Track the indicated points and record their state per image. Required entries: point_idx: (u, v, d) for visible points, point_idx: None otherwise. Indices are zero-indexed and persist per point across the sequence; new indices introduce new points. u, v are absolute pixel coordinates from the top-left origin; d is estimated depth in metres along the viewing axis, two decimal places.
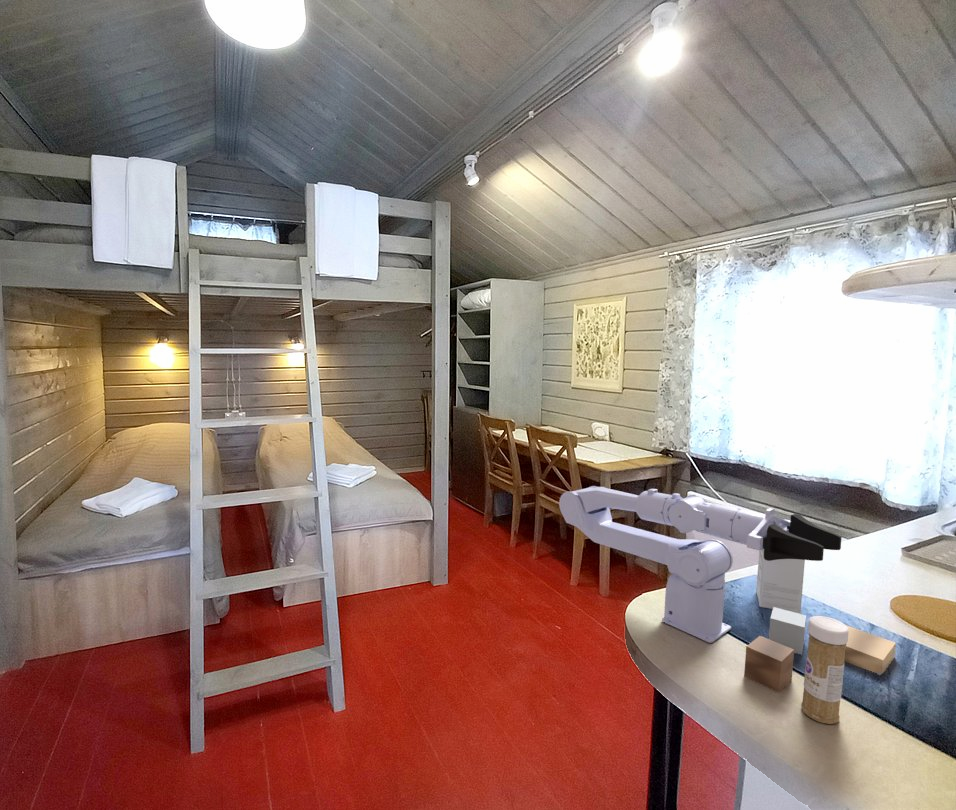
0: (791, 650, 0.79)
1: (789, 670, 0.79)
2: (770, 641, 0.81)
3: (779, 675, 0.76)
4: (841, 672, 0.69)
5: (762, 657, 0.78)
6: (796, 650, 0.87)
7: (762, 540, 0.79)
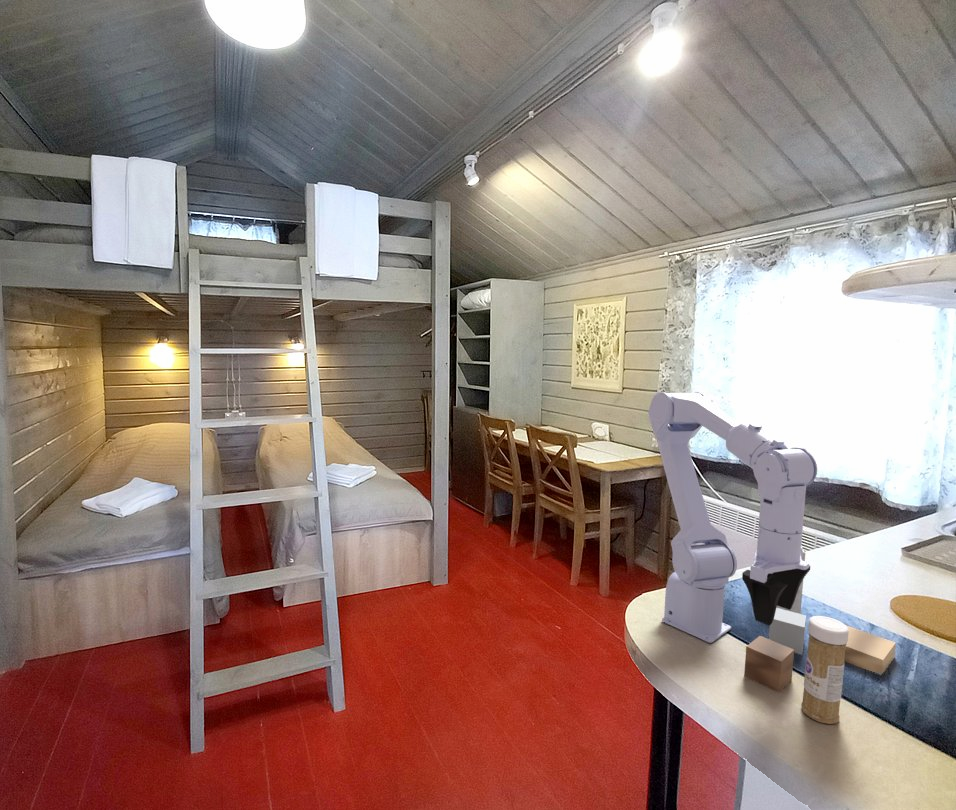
0: (791, 650, 0.79)
1: (789, 670, 0.79)
2: (770, 641, 0.81)
3: (779, 675, 0.76)
4: (841, 672, 0.69)
5: (762, 657, 0.78)
6: (796, 650, 0.87)
7: None
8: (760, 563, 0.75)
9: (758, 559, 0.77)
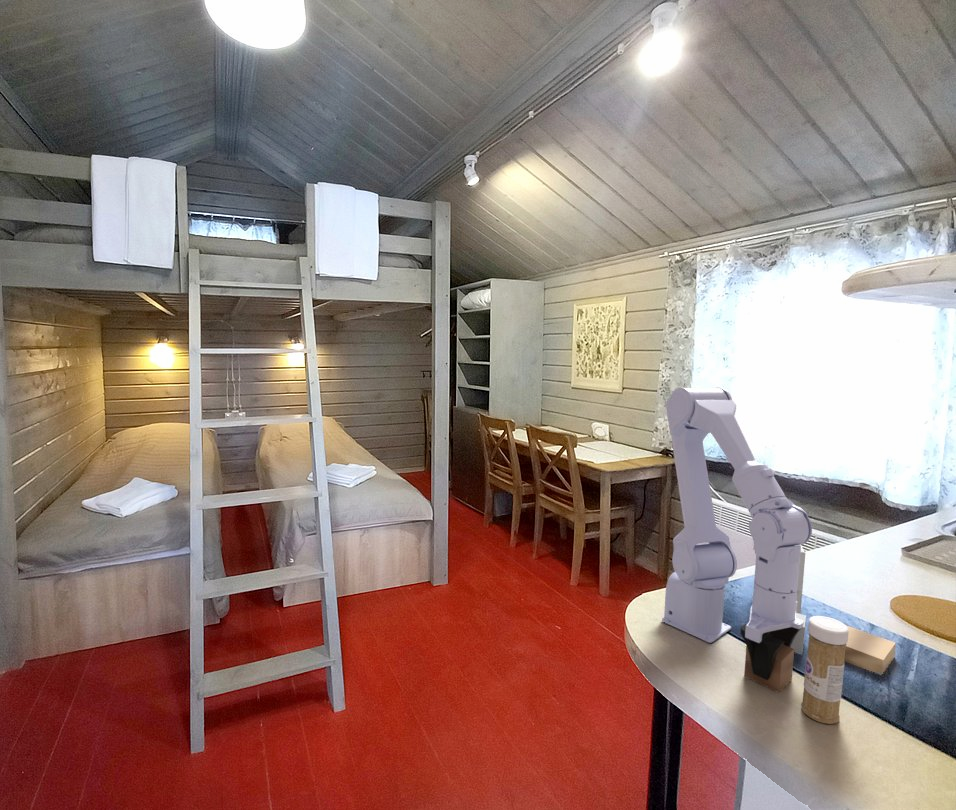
0: (791, 649, 0.79)
1: (789, 669, 0.79)
2: None
3: (779, 674, 0.76)
4: (841, 672, 0.69)
5: None
6: (796, 650, 0.87)
7: None
8: (755, 621, 0.76)
9: (753, 616, 0.78)
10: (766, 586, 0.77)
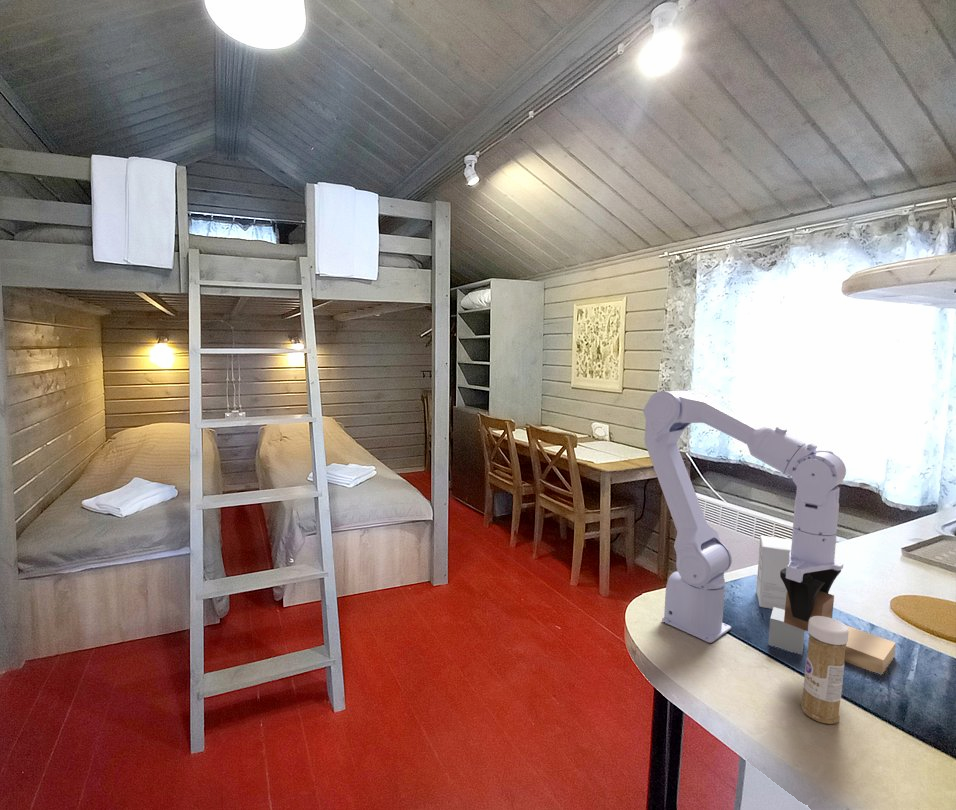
0: (831, 596, 0.80)
1: (829, 615, 0.80)
2: None
3: None
4: (841, 672, 0.69)
5: None
6: (796, 650, 0.87)
7: None
8: (795, 563, 0.78)
9: (793, 559, 0.80)
10: (816, 531, 0.77)
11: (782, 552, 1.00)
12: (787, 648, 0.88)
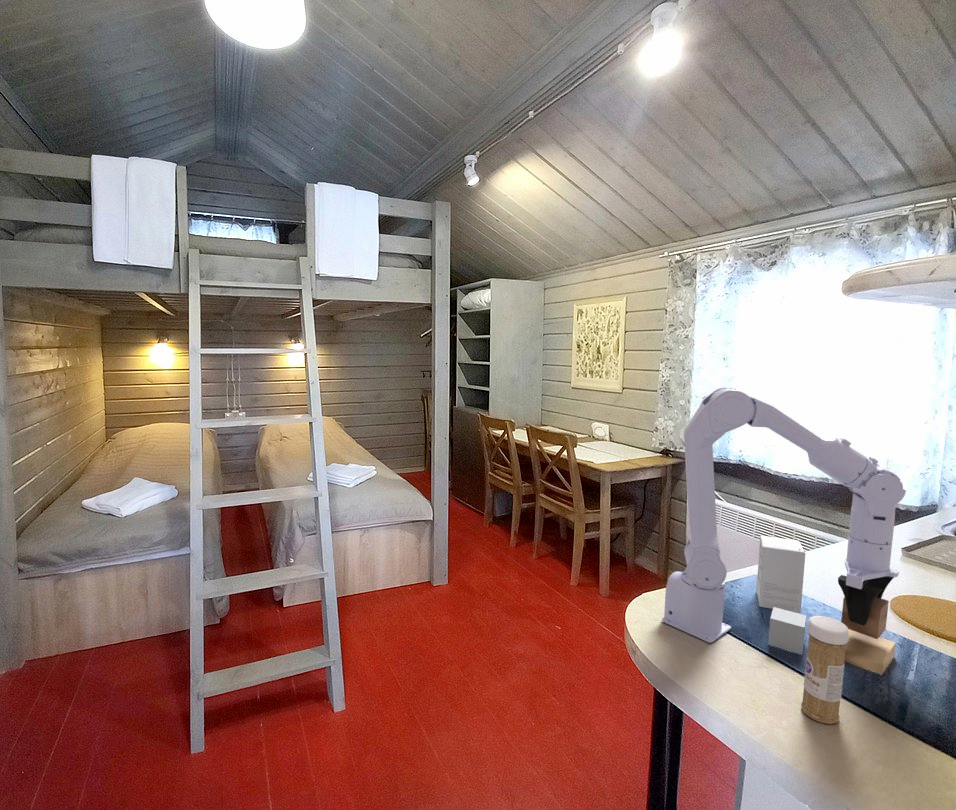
0: (886, 601, 0.85)
1: (884, 619, 0.85)
2: None
3: (878, 622, 0.82)
4: (841, 672, 0.69)
5: None
6: (796, 650, 0.87)
7: None
8: (854, 571, 0.83)
9: (850, 567, 0.85)
10: (884, 541, 0.82)
11: (782, 553, 1.00)
12: (787, 648, 0.88)
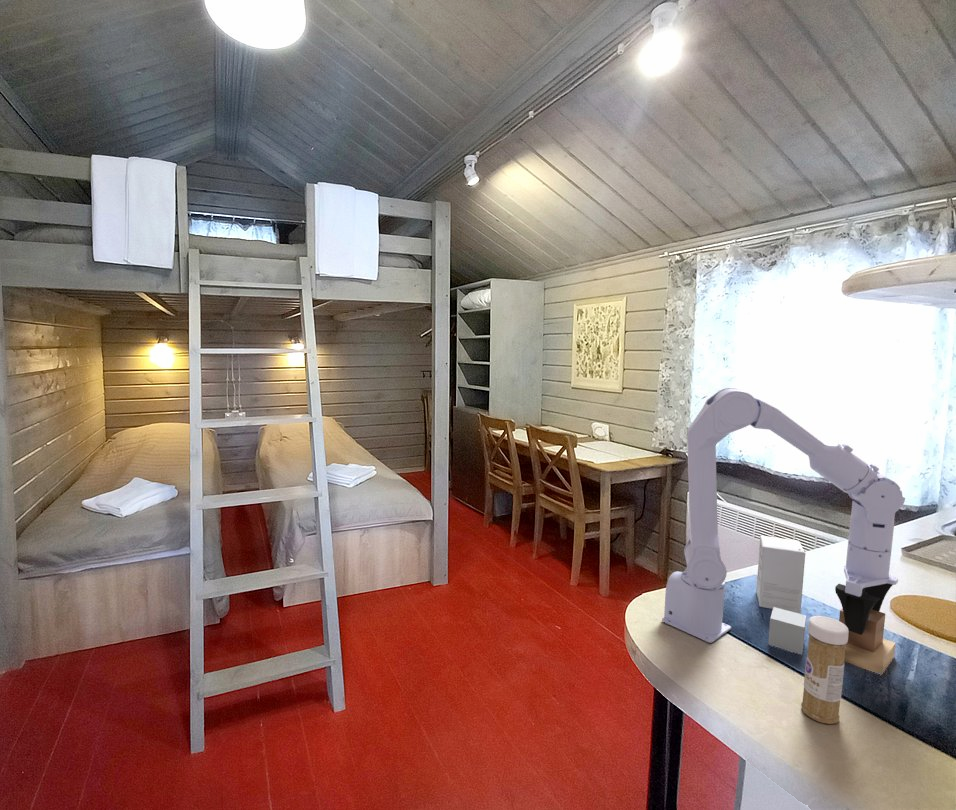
0: (883, 614, 0.85)
1: (881, 632, 0.85)
2: None
3: (874, 635, 0.83)
4: (841, 672, 0.69)
5: None
6: (796, 650, 0.87)
7: None
8: (853, 578, 0.83)
9: (849, 574, 0.85)
10: (883, 549, 0.82)
11: (782, 553, 1.00)
12: (787, 648, 0.88)
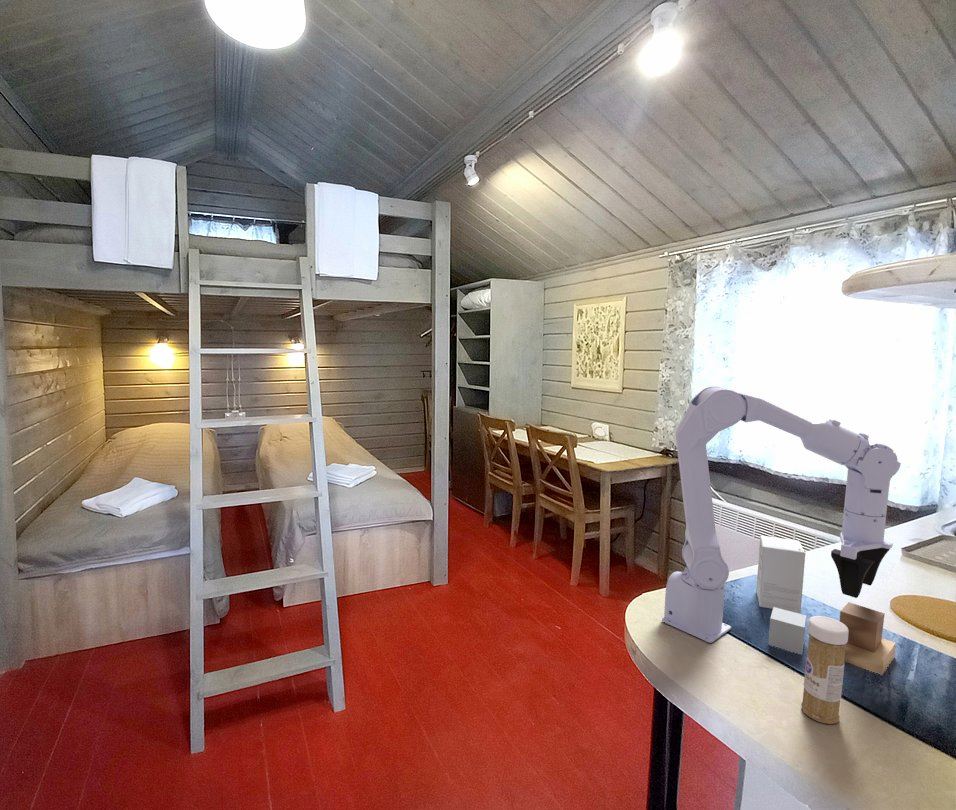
0: (882, 614, 0.85)
1: (880, 632, 0.85)
2: (860, 606, 0.88)
3: (875, 636, 0.83)
4: (841, 672, 0.69)
5: (857, 620, 0.84)
6: (796, 650, 0.87)
7: None
8: (848, 543, 0.85)
9: (845, 539, 0.87)
10: (880, 514, 0.84)
11: (782, 553, 1.00)
12: (787, 648, 0.88)
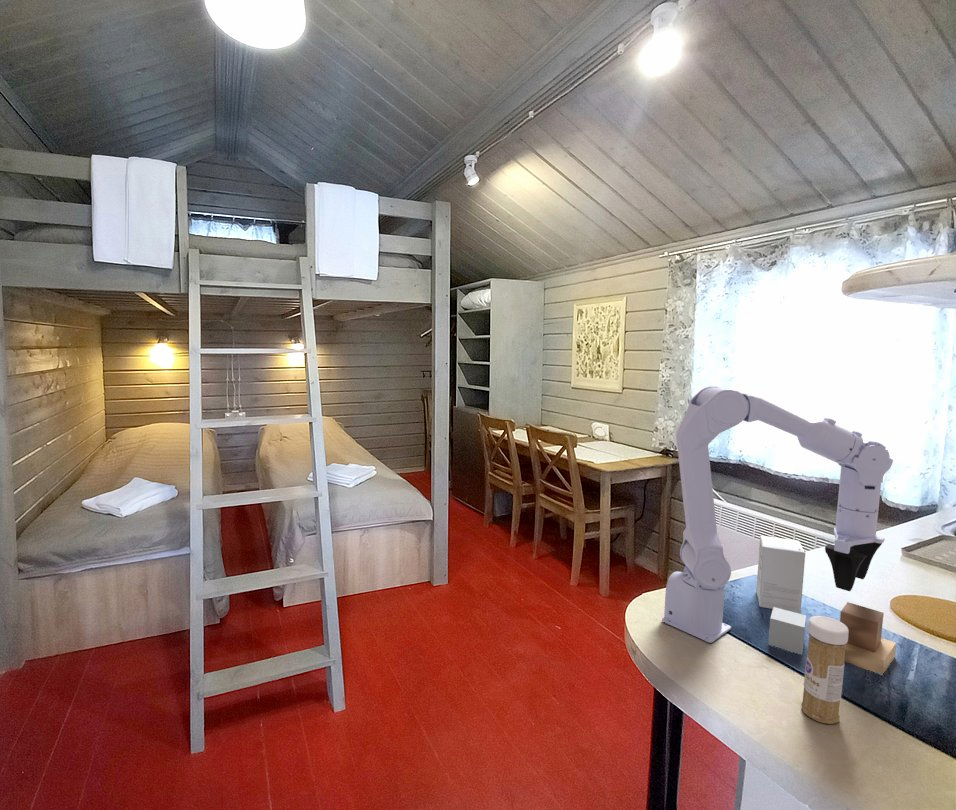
0: (881, 613, 0.86)
1: (880, 631, 0.85)
2: (859, 606, 0.88)
3: (875, 636, 0.83)
4: (841, 672, 0.69)
5: (857, 620, 0.84)
6: (796, 650, 0.87)
7: None
8: (842, 537, 0.87)
9: (838, 534, 0.89)
10: (873, 509, 0.86)
11: (782, 552, 1.00)
12: (787, 648, 0.88)
